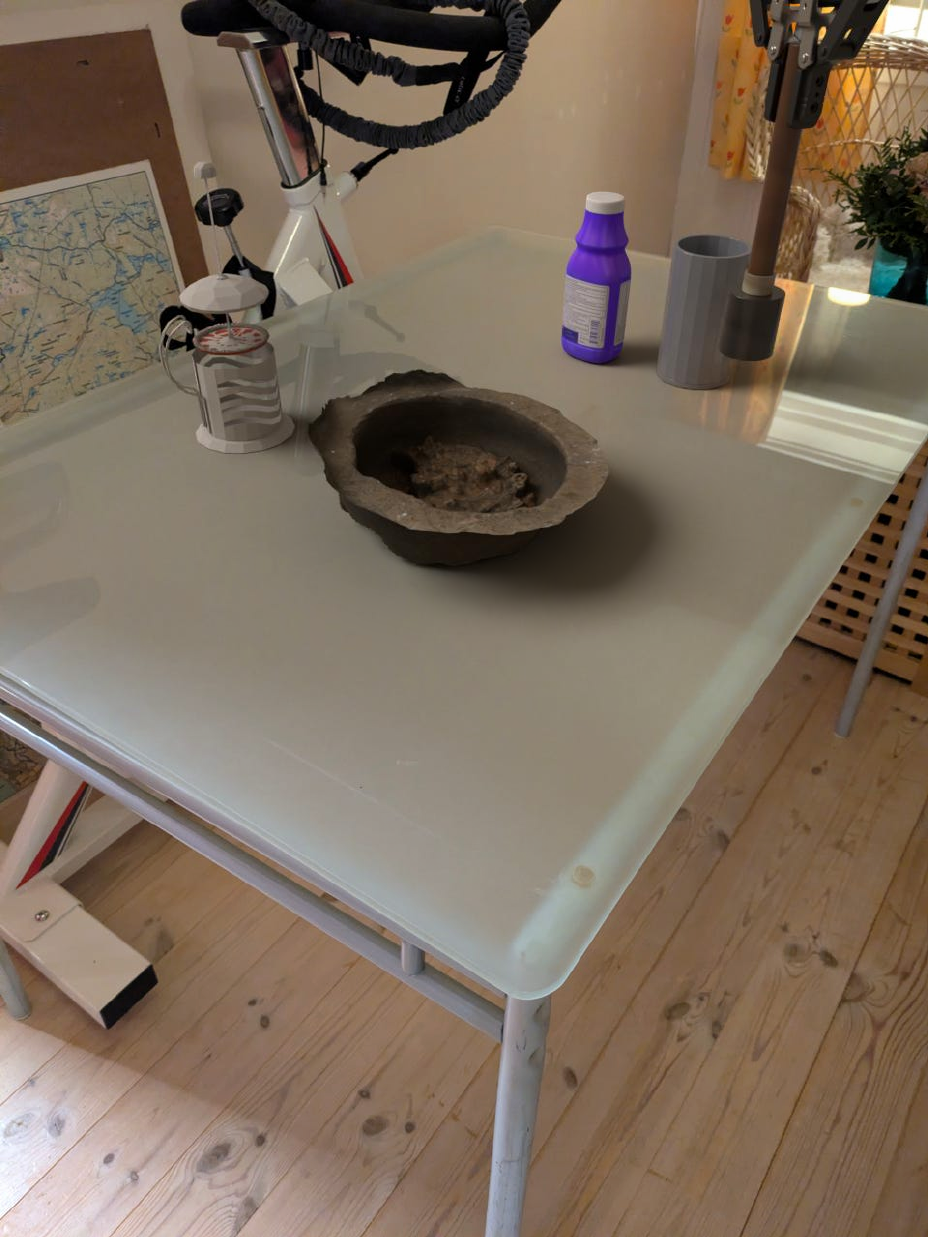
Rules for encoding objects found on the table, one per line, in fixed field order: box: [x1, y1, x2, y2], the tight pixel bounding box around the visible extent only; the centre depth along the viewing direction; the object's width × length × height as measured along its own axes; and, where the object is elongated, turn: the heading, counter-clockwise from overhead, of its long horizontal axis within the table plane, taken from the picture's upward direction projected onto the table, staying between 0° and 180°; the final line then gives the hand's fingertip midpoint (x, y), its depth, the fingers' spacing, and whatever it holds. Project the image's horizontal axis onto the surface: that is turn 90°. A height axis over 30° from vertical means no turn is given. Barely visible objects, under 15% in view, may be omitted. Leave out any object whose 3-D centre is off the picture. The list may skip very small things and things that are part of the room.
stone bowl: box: [306, 368, 609, 567], centre depth 80 cm, size 25×25×9 cm
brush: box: [719, 42, 820, 363], centre depth 72 cm, size 4×4×22 cm
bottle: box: [560, 191, 632, 364], centre depth 105 cm, size 7×6×17 cm
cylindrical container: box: [656, 233, 753, 390], centre depth 102 cm, size 8×8×14 cm
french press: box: [158, 160, 296, 454], centre depth 88 cm, size 10×12×25 cm
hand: (789, 122), depth 68 cm, fingers closed on brush, 2 cm apart
